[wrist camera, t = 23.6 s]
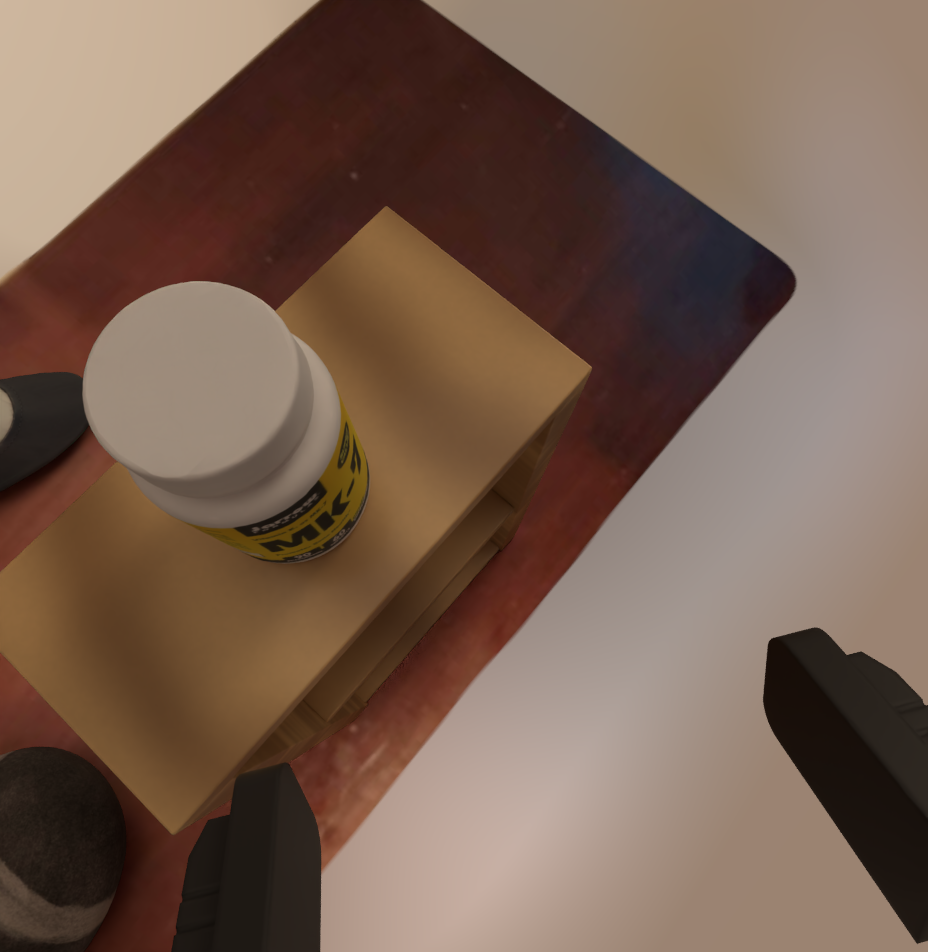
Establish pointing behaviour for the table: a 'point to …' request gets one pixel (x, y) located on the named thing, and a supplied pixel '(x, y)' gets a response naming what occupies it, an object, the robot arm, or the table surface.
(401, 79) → the table surface
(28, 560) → the wooden shelf
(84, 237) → the table surface
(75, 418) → the ballet flat
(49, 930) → the decorative stone
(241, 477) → the supplement bottle
